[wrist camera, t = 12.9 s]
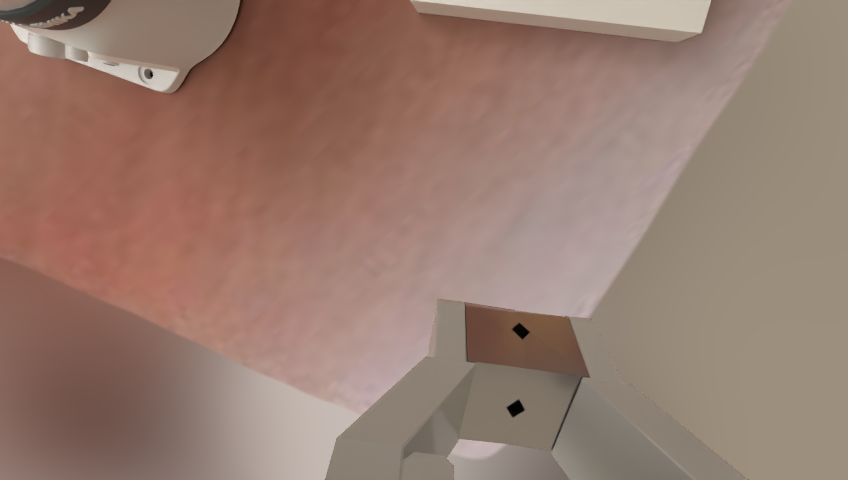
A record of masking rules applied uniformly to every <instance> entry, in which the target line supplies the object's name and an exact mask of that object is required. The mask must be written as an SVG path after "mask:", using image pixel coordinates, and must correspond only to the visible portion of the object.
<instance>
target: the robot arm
mask: <svg viewBox="0 0 848 480" xmlns="http://www.w3.org/2000/svg"><path fill="white" fill-rule="evenodd" d="M239 3H240V0H0V21H2V22H6V23H9V24H10V25H11V27H12V28H13V30H14V32H15V33H16V35H17V36H18V38H19V39H20V40H21V41H22V42H24V43H26V44H28V49H29V51H30V52H32V53H35V54H39V55H43V56H47V57H52V58H58V59H65V58H67V59H69V60H72V61H75V62H78V63H81V64H83V65H86V66H89V67H92V68H94V69H97V70H100V71H103V72H106V73H108V74H111V75H114V76H117V77H119V78H122V79H125V80H128V81H130V82H133V83H136V84H139V85H142V86H144V87H147V88H150V89H153V90H155V91H159V92H163V93H173V92H175V91H176V90H177V89H178V88H179V87H180V85H181V84H182V82H183V81H184V79H185V77H186V75H187V74H188V72H189V70H190V69H191V68H192V67H193V66H195V65H196V64H197V63H199V62H200V61H202V60H204V59H205V58H207V57H208V56H210V55H211V54H212V53H213V52H214V51H215V50H217V48H218V47H219V46H220V45H221V44H222V43H223V42H224V40H225V39H226V37H227V36H228V34H229V32H230V30H231V28H232V26H233V24H234V21H235V19H236V16H237V12H238V8H239ZM151 71H152V72H153V77H152V78H151V76H150V72H151ZM458 439H466V440H476V441H485V442H495V443H505V444H510V445H516V446H523V447H529V448H535V449H541V450H547V451H552V455H553V456H554V458H555V459H556V460H557V462H558V463H559V465H560V466H561V468H562V469H563V470H564V472H565V473H566V475H567V476H568V477H569V479H570V480H749V479H747V478H746V477H745V476H744V475H742V474H741V473H740V472H739V471H737V470H736V469H735V468H734V467H733V466H731V465H730V464H729V463H728V462H727V461H725V460H724V459H723V458H722V457H720V456H719V455H718V454H716V453H715V452H714V451H713V450H712V449H711V448H709V447H708V446H707V445H706V444H704V443H703V442H702V441H701V440H700V439H698V438H697V437H696V436H694V435H693V434H692V433H691V432H690V431H689V430H687V429H686V428H685V427H684V426H682V425H681V424H680V423H679V422H678V421H676V420H675V419H674V418H672V417H671V416H670V415H669V414H668V413H666V412H665V411H664V410H663V409H662V408H660V407H659V406H658V405H657V404H655V403H654V402H653V401H652V400H650V399H649V398H648V397H647V396H645V395H644V394H643V393H642V392H641V391H639V390H638V389H637V388H636V387H635V386H633V385H632V384H628V383H623V382H622V379H621V377H620V375H619V373H618V370H617V368H616V366H615V364H614V362H613V360H612V357H611V355H610V353H609V351H608V348H607V346H606V344H605V342H604V340H603V338H602V335H601V333H600V331H599V329H598V326H597V324H596V322H595V321H593V320H592V319H587V318H578V317H568V316H565V317H562V316H554V315H546V314H538V313H530V312H522V311H515V310H511V309H505V308H499V307H492V306H486V305H479V304H473V303H467V302H464V303H463V302H460V301H452V300H445V299H438V300H437V303H436V309H435V315H434V321H433V327H432V332H431V338H430V344H429V351H428V356H426V357H425V358H424V359H423V360H422V361H420V362H419V363H418V364H417V365H416V366H415V367H414V368H413V369H412V370H411V371H410V372H408V373H407V374H406V375H405V376H404V377H403V378H402V379H401V380H400V381H399V382H398V383H396V384H395V385H394V386H393V387H392V388H391V389H390V390H389V391H388V392H387V393H386V394H384V395H383V396H382V397H381V398H380V399H379V400H378V401H377V402H376V403H375V404H374V405H372V406H371V407H370V408H369V409H368V410H367V411H366V412H365V413H364V414H363V415H362V416H360V417H359V418H358V419H357V420H356V421H355V422H354V423H353V424H352V425H351V426H350V427H349V428H348V429H346V430H345V431H344V432H343V433H342V434H341V435H340V436H339V437H338V438H337V439H336V442H335V446H334V450H333V453H332V457H331V461H330V464H329V468H328V471H327V475H326V478H325V480H454V465H453V464H452V463H451V462H449V460H448V459H447V457H448V455H449V454H450V452H451V451H452V449H453V448H454V446H455V445H456V443H457V442H458Z"/></svg>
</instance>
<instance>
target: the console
mask: <svg viewBox="0 0 848 480" xmlns="http://www.w3.org/2000/svg"><path fill="white" fill-rule="evenodd" d="M410 1H411V3H412V4H413V6H414V7H415V9H416V10H417V12H418V13H427V14H436V15H444V16H453V17H462V18H470V19H479V20H487V21H496V22H505V23H513V24H522V25H531V26H539V27H548V28H556V29H565V30H574V31H582V32H591V33H600V34H608V35H617V36H625V37H634V38H643V39H651V40H660V41H669V42H679V41H682V40H685V39H688V38H690V37H693V36H696V35H698V34H701V33H702V30H703V27H704V23H705V20H706V16H707V13H708V9H709V6H710V3H711V0H410Z"/></svg>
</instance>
